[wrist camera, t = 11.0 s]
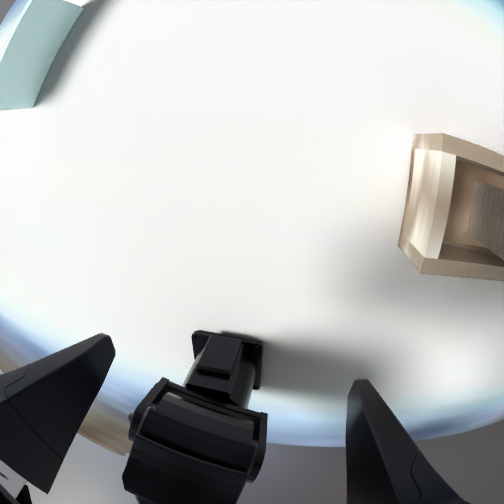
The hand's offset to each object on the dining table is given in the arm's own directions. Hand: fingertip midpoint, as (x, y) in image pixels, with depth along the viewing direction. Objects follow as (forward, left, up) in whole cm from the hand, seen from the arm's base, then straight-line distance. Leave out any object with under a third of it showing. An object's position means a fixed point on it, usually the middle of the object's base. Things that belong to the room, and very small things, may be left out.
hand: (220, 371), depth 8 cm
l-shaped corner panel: (+22, +27, -13) cm, 37 cm away
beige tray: (+5, -17, -12) cm, 21 cm away
